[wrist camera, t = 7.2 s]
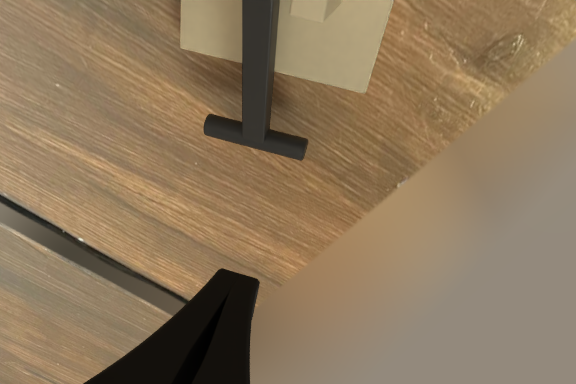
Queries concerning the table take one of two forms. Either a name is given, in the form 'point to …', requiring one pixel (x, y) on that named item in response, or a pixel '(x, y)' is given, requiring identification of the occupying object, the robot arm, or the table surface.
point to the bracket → (297, 36)
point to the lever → (257, 87)
